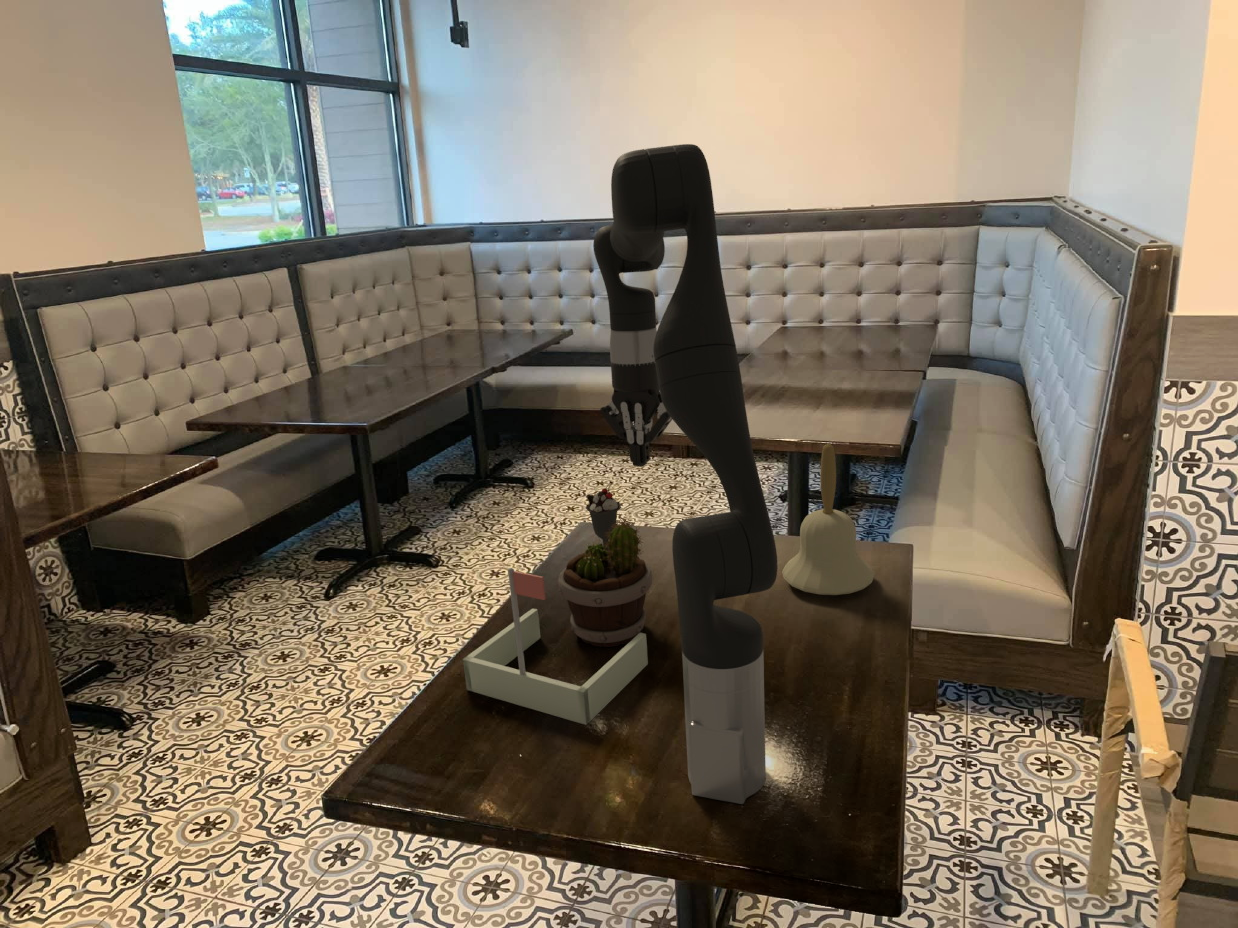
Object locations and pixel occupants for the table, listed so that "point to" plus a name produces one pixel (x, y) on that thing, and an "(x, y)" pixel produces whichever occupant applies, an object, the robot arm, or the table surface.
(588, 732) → the table surface
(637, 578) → the flowerpot
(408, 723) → the table surface
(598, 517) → the sundae
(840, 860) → the table surface
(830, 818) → the table surface
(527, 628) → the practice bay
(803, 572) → the handbell
